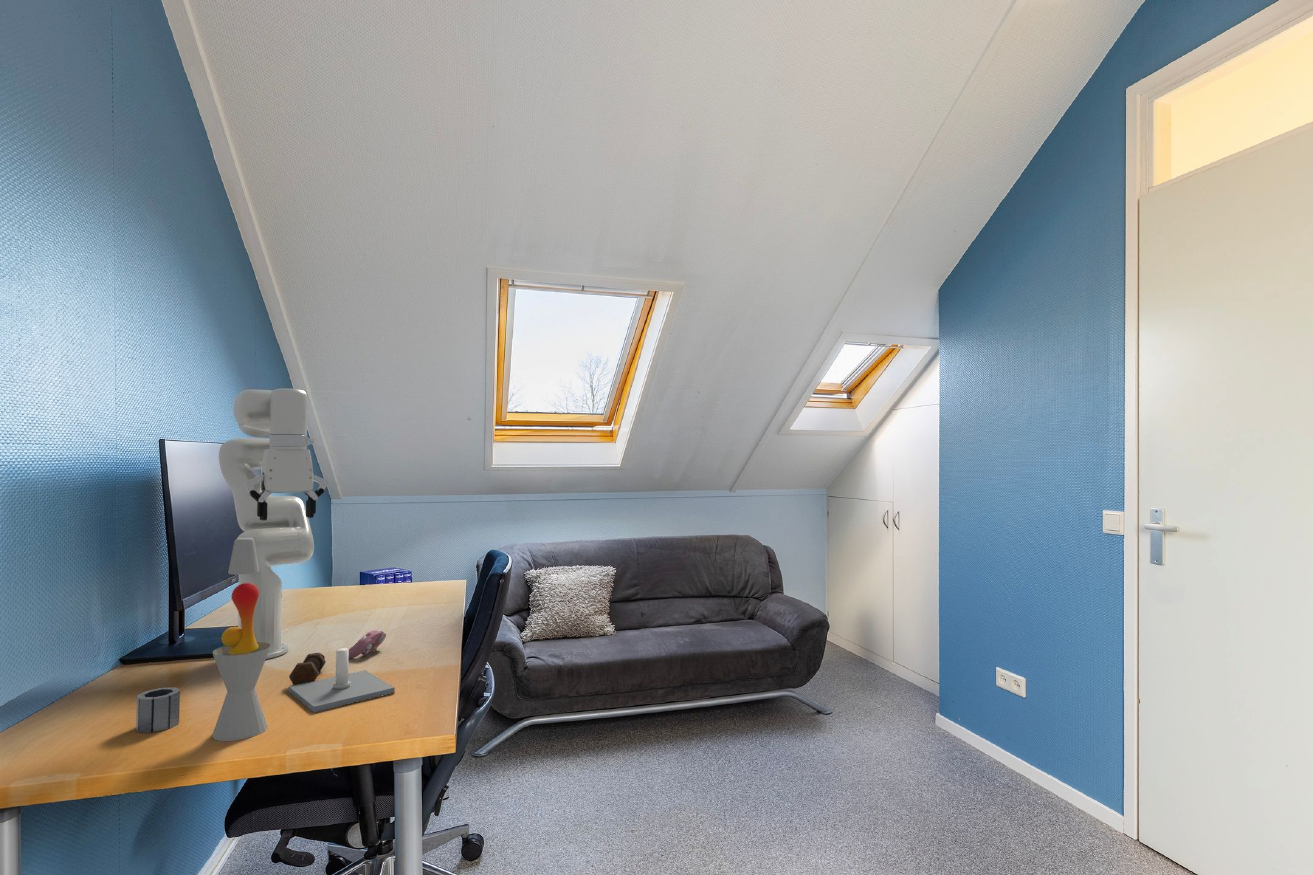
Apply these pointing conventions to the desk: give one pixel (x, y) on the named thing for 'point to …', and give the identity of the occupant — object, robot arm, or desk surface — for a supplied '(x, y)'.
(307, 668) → the bolt
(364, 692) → the post stand
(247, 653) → the lava lamp
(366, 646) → the pink animal figurine
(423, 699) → the desk surface
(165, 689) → the collar
